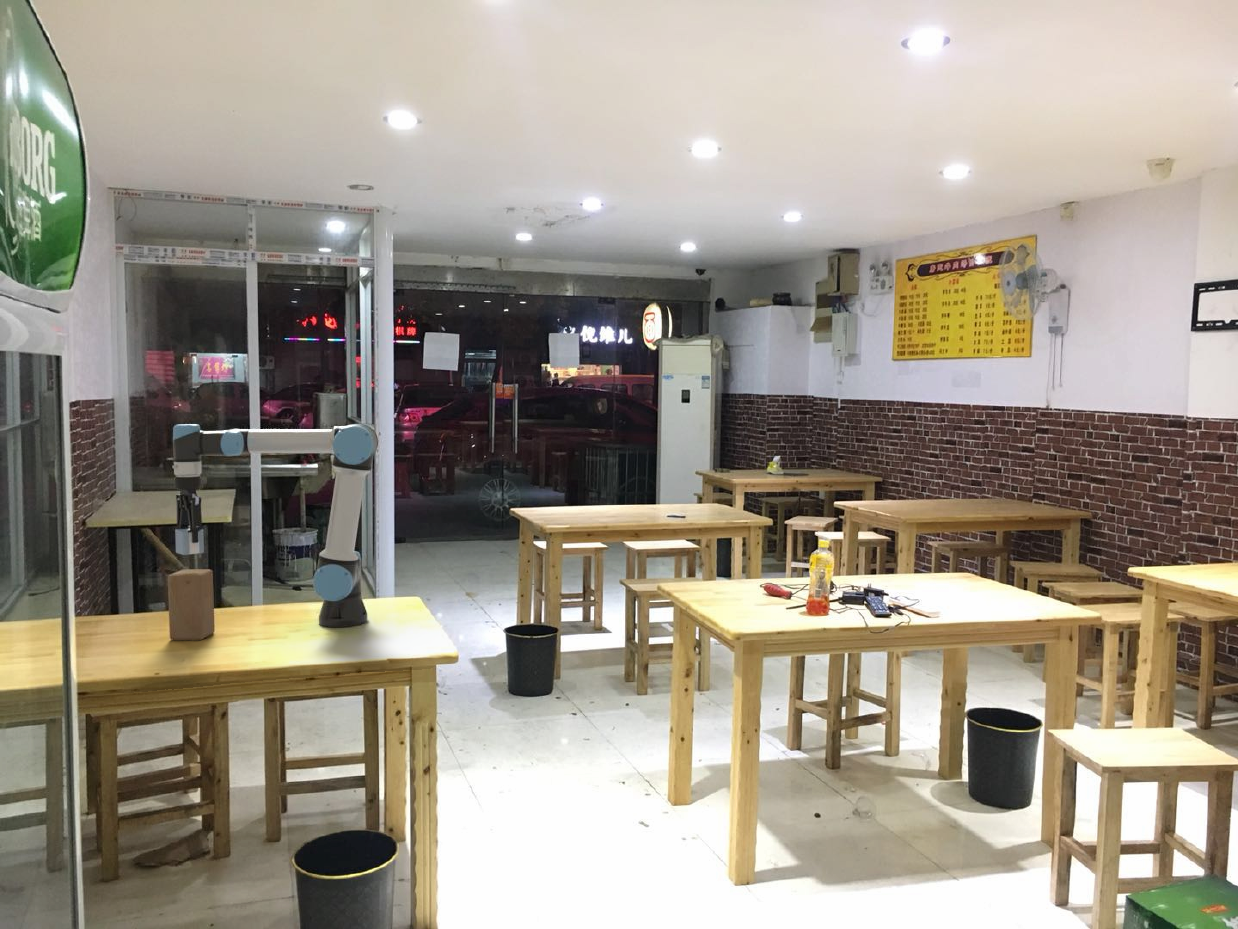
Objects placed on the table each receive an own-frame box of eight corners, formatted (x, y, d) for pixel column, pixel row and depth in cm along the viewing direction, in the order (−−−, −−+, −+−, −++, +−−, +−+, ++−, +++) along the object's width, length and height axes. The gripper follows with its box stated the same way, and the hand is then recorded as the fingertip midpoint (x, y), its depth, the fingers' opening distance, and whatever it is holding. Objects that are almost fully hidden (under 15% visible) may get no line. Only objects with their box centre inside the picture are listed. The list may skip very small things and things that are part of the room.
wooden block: (201, 641, 290) (199, 574, 289) (168, 641, 291) (166, 574, 289) (216, 632, 300) (214, 568, 299) (183, 632, 301) (181, 568, 299)
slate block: (196, 550, 298) (195, 527, 297) (203, 552, 294) (203, 529, 293) (175, 552, 294) (175, 529, 293) (183, 555, 289) (182, 531, 289)
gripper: (163, 474, 296) (165, 549, 298) (187, 478, 283) (189, 557, 284) (188, 473, 301) (190, 547, 303) (213, 477, 288) (215, 554, 290)
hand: (190, 551), depth 294 cm, fingers closed on slate block, 6 cm apart
